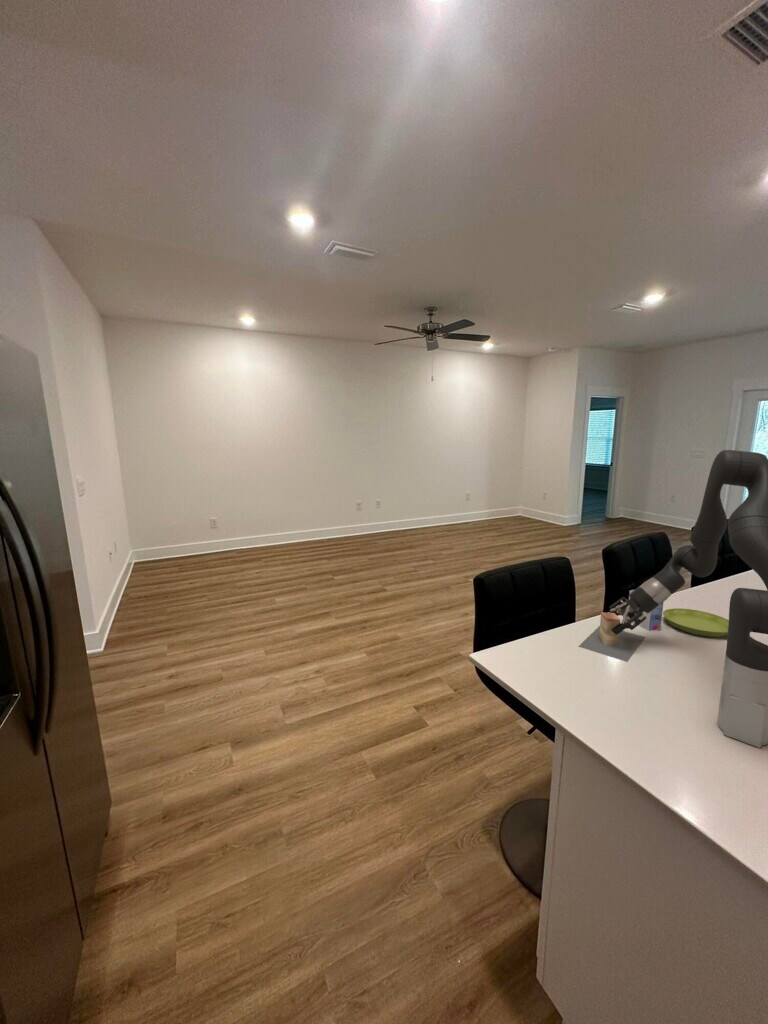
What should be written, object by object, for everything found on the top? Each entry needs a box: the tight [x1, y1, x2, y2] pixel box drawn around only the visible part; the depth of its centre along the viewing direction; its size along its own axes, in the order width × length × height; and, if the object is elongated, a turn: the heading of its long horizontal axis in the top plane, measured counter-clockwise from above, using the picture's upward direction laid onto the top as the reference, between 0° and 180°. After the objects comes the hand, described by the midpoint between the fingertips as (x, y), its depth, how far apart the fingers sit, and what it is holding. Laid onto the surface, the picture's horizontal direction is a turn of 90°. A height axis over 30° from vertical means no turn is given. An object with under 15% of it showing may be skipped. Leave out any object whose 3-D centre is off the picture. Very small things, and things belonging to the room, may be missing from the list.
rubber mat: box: [578, 625, 646, 663], centre depth 135 cm, size 22×14×1 cm, turn 136°
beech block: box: [599, 611, 621, 646], centre depth 134 cm, size 4×5×9 cm
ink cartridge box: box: [628, 589, 664, 632], centre depth 146 cm, size 10×6×14 cm, turn 15°
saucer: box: [662, 607, 729, 638], centre depth 146 cm, size 21×21×3 cm
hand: (608, 626), depth 134 cm, fingers open, 8 cm apart
